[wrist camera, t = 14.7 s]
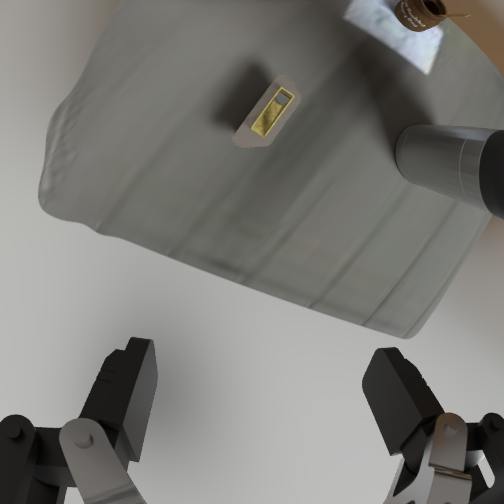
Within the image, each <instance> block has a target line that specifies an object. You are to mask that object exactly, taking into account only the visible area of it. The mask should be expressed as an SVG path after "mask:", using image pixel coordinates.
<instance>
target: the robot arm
mask: <svg viewBox="0 0 504 504" xmlns="http://www.w3.org/2000/svg"><path fill="white" fill-rule="evenodd" d="M395 156H396V162H397V166H398V168H399V170H400V172H401V174H402V175H403V176H404V178H406V179H407V180H408V181H409V182H411V183H413V184H416V185H419V186H422V187H425V188H428V189H430V190H433V191H436V192H439V193H441V194H444V195H447V196H449V197H452V198H454V199H457V200H459V201H462V202H464V203H467V204H469V205H472V206H474V207H476V208H479V209H481V210H484V211H486V212H488V213H490V214H493V215H495V216H497V217H499V218H502V219H504V130H497V129H488V128H476V127H464V126H447V125H411V126H409V127H407V128H406V129H405V130H404V131H403V132H402V133H401V134H400V136H399V138H398V140H397V144H396V151H395ZM157 378H158V373H157V365H156V356H155V348H154V342H153V340H150V339H143V338H136V337H131V338H130V340H129V342H128V344H127V346H126V349H125V351H124V350H118V349H116V350H115V351H114V352H112V353H111V354H110V355H109V356H108V357H106V359H105V361H104V363H103V365H102V367H101V371H100V372H99V374H98V376H97V378H96V381H95V382H94V384H93V387H92V389H91V391H90V393H89V395H88V398H87V400H86V402H85V405H84V407H83V409H82V412H81V414H80V416H79V417H78V418H77V419H73V420H71V421H69V422H67V423H66V424H65V425H64V426H63V427H62V428H44V427H34V426H33V424H32V423H31V422H30V420H29V419H27V418H26V417H24V416H22V415H10V416H7V417H6V418H4V419H3V420H2V421H1V422H0V504H64V499H65V494H66V490H67V487H77V488H78V490H79V492H80V494H81V496H82V499H83V501H84V504H147V503H146V502H145V500H144V499H143V498H142V496H141V494H140V493H139V491H138V490H137V488H136V486H135V485H134V483H133V482H132V480H131V478H130V477H129V475H128V473H127V468H128V463H129V460H130V461H134V462H139V460H140V455H141V451H142V446H143V441H144V437H145V432H146V428H147V423H148V419H149V415H150V411H151V407H152V403H153V399H154V395H155V390H156V387H157ZM362 388H363V392H364V394H365V397H366V399H367V401H368V404H369V406H370V408H371V410H372V413H373V415H374V417H375V420H376V422H377V424H378V427H379V429H380V432H381V434H382V437H383V439H384V441H385V444H386V446H387V449H388V451H389V454H390V456H393V455H397V454H401V453H402V455H403V458H402V459H401V461H400V463H399V466H398V469H397V472H396V475H395V477H394V480H393V483H392V485H391V488H390V491H389V493H388V496H387V498H386V500H385V502H384V503H383V504H504V419H503V418H502V417H501V416H500V415H498V414H496V413H488V414H486V415H485V416H484V417H483V418H482V420H481V421H480V422H479V423H465V421H464V420H463V419H462V418H461V417H460V416H458V415H456V414H454V413H445V412H444V410H443V408H442V407H441V405H440V404H439V402H438V400H437V399H436V397H435V396H434V394H433V392H432V391H431V389H430V388H429V386H427V383H426V381H425V380H424V378H422V375H421V374H420V372H419V371H418V369H417V367H415V366H414V365H413V364H412V363H411V362H410V361H408V360H407V359H404V357H403V355H402V354H401V352H400V351H399V350H398V348H396V347H391V348H378V349H377V350H376V351H375V353H374V355H373V357H372V359H371V362H370V364H369V366H368V368H367V370H366V372H365V375H364V377H363V380H362ZM484 457H486V459H487V461H488V463H489V465H490V467H491V469H492V472H493V474H494V476H495V481H494V484H493V486H492V487H491V488H489V487H488V486H487V484H486V482H485V480H484V478H483V475H482V473H481V470H480V468H479V466H478V463H479V462H480V461H481V460H482V459H483V458H484Z"/></svg>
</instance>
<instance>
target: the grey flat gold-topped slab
mask: <svg viewBox="0 0 504 504" xmlns="http://www.w3.org/2000/svg"><path fill="white" fill-rule="evenodd" d="M279 91H280V92H281V93H283V94H284V95H285V96H287V97H288V98H290V100H289V101H288V102H287V103H286V104H285V105H283V106H281V105H280V104H278V103H277V102H275V101H274V99H275V98H276V97H275V96H276V95H277V94H278V92H279ZM301 98H302V97H301V95H300V93H299V92H298V90H297V88H296V87H295V85H294V83H293V82H292V80H291V79H290V78H288V77H287V76H285V75H284V74H279V75H278V76H277V77H276V78H275V80H274V81H273V82H272V84H271V85H270V86H269V88H268V89H267V90H266V92H265V93H264V94H263V96H262V97H261V98H260V100H259V101H258V102H257V104H256V105H255V106H254V108H253V109H252V111H251V112H250V113H249V115H248V116H247V118H246V119H245V120H244V122H243V123H242V125H241V126H240V127H239V129H238V130H237V132H236V133H235V135H234V136H233V138H232V141H233V143H235V144H236V145H238V146H239V147H241V148H248V147H261V146H269V145H270V144H271V142H272V141H273V140H274V138H275V137H276V135H277V134H278V133H279V131H280V130H281V128H282V127H283V126H284V124H285V123H286V122H287V120H288V119H289V117H290V116H291V115H292V113H293V112H294V111H295V109H296V108H297V107H298V105H299V104H300V102H301ZM269 104H270V105H269ZM266 108H267V109H266ZM264 111H265V112H264ZM263 112H264V113H263ZM262 114H263V115H262ZM261 115H262V116H261ZM259 118H260V119H259ZM274 118H275V119H274ZM258 119H259V120H258ZM257 121H258V122H257ZM272 121H273V122H272ZM256 122H257V123H256ZM255 123H256V125H255ZM254 125H255V126H254ZM253 126H254V128H253ZM269 126H270V127H269ZM253 130H254V131H253ZM266 131H267V132H266ZM256 132H257V133H256ZM265 132H266V133H265ZM259 134H260V135H259ZM263 136H264V137H263Z"/></svg>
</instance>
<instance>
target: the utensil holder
mask: <svg viewBox="0 0 504 504" xmlns="http://www.w3.org/2000/svg"><path fill="white" fill-rule="evenodd" d="M396 14H397V17H398V19H399V20H400V22H401V23H402V24H403V25H404V26H405V27H407V28H408V29H410V30H412V31H415V32H421V31H425V30H427V29H429V28H432V27H434V26H436V25H438V24H439V23H440V21H443V20H444V19H445V18H446V17H466V16H471V15H468V14H452V15H447V9H446V7H445V5H444V3H443V2H442V0H402V1H400V2H399V3H398V4H397V6H396Z"/></svg>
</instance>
